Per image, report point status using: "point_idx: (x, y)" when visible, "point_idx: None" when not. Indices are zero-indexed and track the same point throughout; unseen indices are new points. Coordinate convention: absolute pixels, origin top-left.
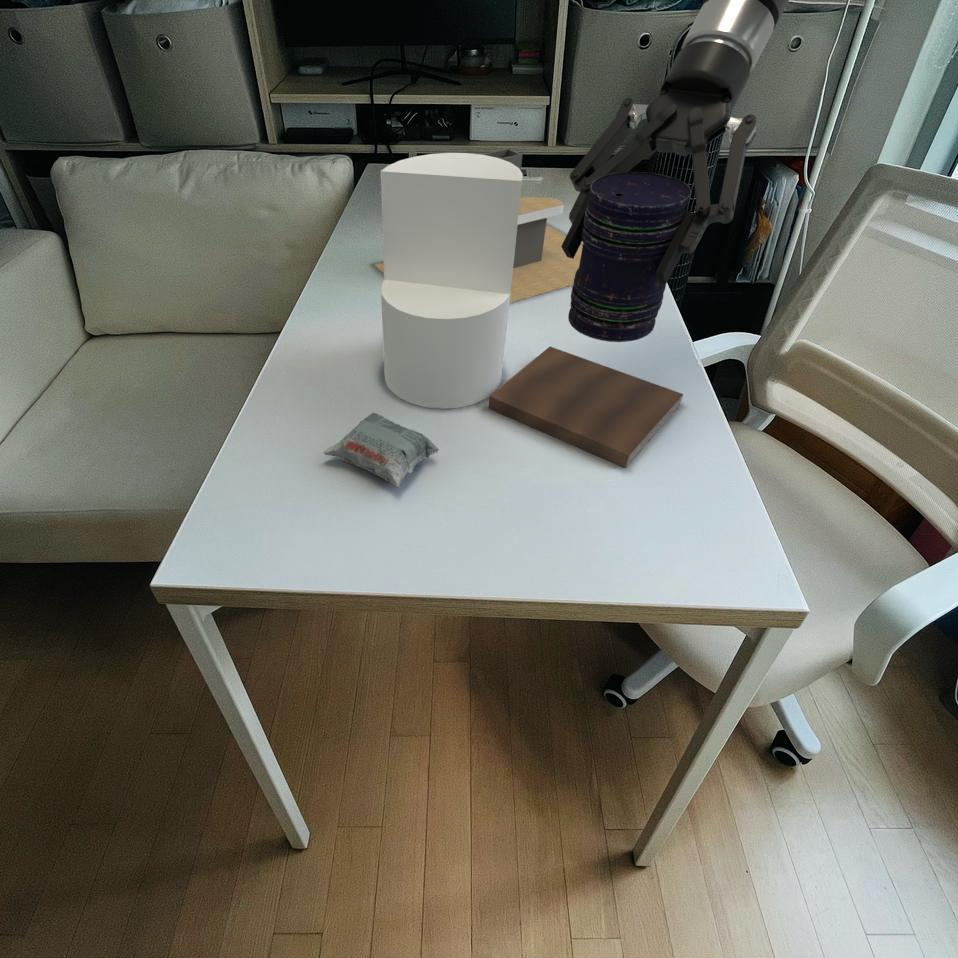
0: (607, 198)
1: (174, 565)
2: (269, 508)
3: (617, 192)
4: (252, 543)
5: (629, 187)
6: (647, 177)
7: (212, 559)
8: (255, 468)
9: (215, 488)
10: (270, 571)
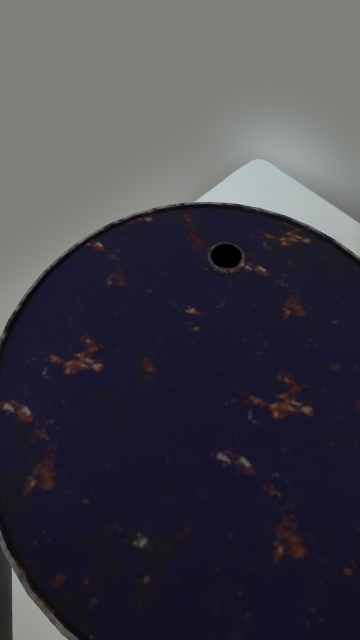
0: (239, 223)
1: (265, 161)
2: (273, 203)
3: (255, 284)
4: (254, 187)
5: (259, 358)
6: (298, 573)
7: (257, 172)
8: (314, 213)
9: (310, 192)
10: (230, 185)
